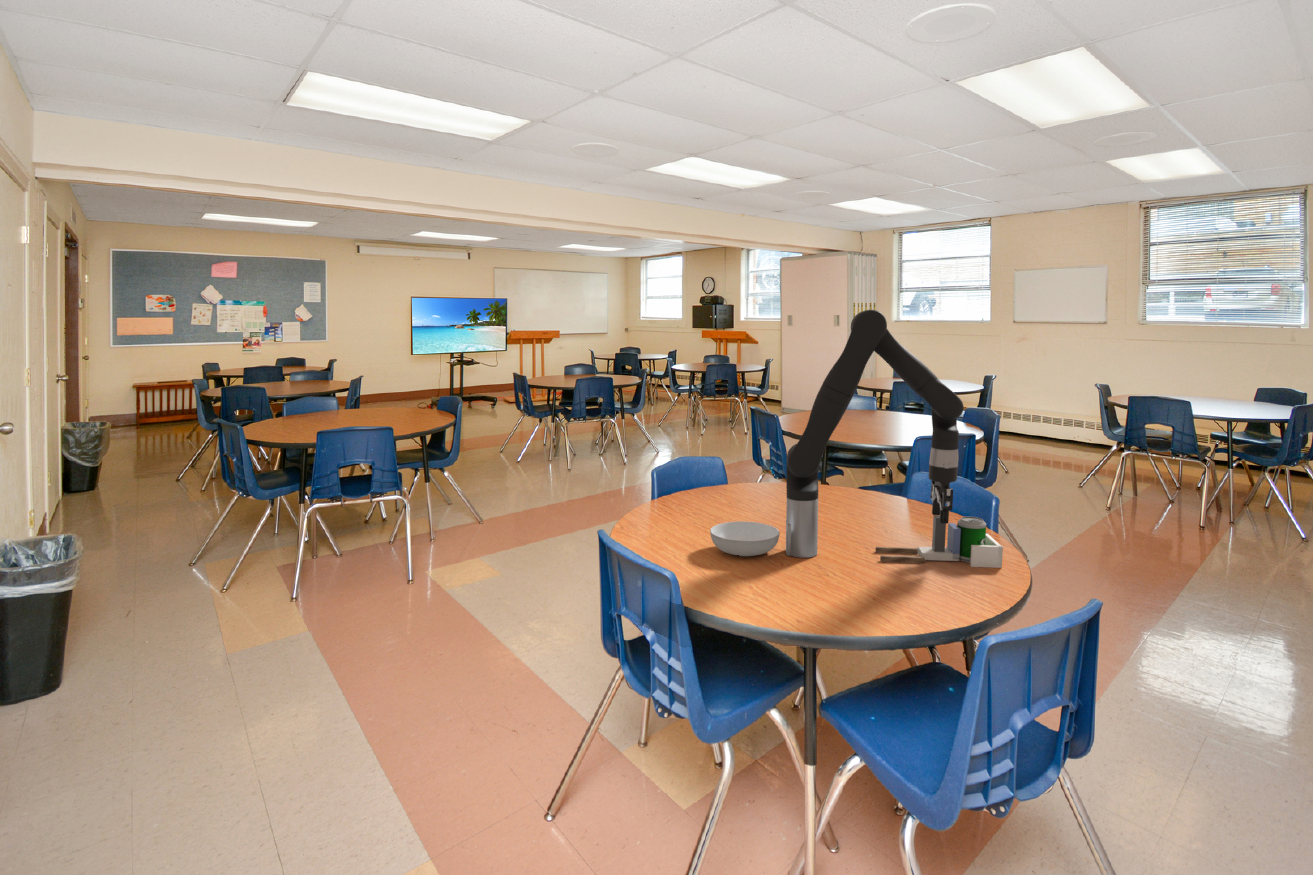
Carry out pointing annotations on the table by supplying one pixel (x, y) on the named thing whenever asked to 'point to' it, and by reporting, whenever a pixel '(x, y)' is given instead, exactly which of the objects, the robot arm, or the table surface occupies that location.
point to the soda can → (970, 535)
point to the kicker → (942, 542)
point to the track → (899, 558)
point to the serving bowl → (744, 537)
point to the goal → (987, 554)
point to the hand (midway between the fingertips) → (939, 519)
